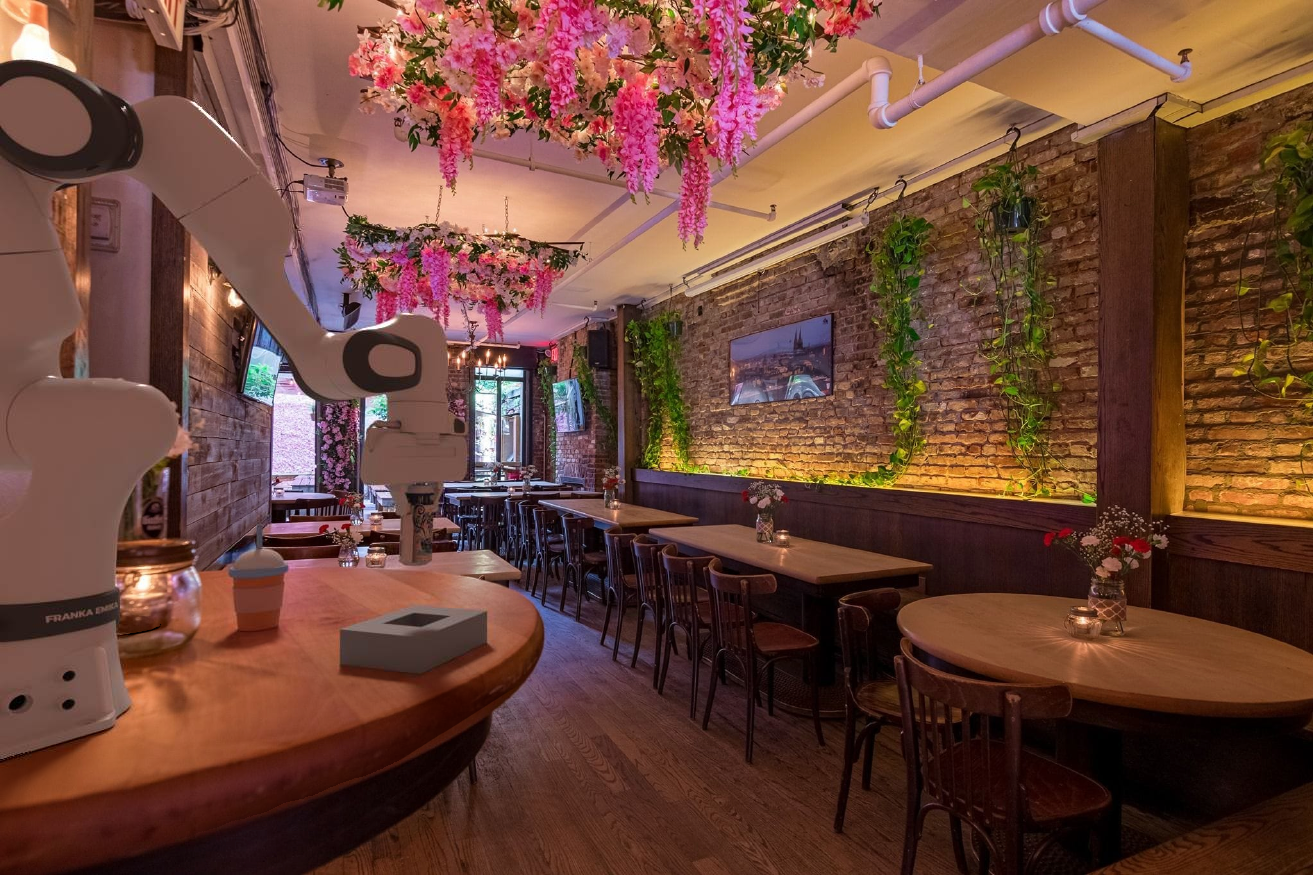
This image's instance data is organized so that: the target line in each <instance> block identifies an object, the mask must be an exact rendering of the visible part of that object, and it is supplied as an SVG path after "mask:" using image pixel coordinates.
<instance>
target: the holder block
mask: <svg viewBox="0 0 1313 875" xmlns="http://www.w3.org/2000/svg"><path fill="white" fill-rule="evenodd" d="M486 642H487V643H488V610H479V609H469V608H467V609H466V608H456V607H455V608H454V607H444V606H432V605H430V606H429V605H421V604H420V605H419V604H418V605H417V604H414V605H410V606H408V607H405V608H402V609H399V610H395V611H391V612H390V613H389V612H388V613H387V614H384V615H381V616H376V617H374V618H371V619H367V620H364V621H361V622H358V623H355V624H352V625H349V626H346V627H343V628H340V629H339V665H341V666H342V665H344V666H351V667H358V668H367V669H375V670H382V671H390V672H399V673H407V674H413V675H414V674H415V675H421V674H424V673H426V672H428V671H430V670H433V669H435V668H437V667H439V666H441V665H443V664H446V663H448V662H449V661H451V660H453V658H454V659H455V658H457V657H460V656H462V655H464V654H466V653H468V652H470V651H472V650H475V649H476V648H475V647H477V648H479V647H481V646H482V644H483V645H485V644H487V643H486ZM484 643H485V644H484ZM480 645H481V646H480ZM478 646H479V647H478ZM474 648H475V649H474ZM471 649H472V650H471Z"/></svg>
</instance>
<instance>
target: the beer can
mask: <svg viewBox="0 0 1313 875" xmlns="http://www.w3.org/2000/svg"><path fill="white" fill-rule="evenodd" d="M434 492H435V491H434V490H433V488H432V485H428V484H427V483H411V484H408V488H407V491H406V492H405V494H406V497H407V500H408V503H412V508H411V509H412V513H411V514H409V515H400V528H399V529H400V530H399V535H400V536H399V551H398V552H399V556H398V562H399V563H400V564H402V565H403V566H409V567H417V566H418V567H419V566H420V567H421V566H425V565H428V564H429V563H431V562H432V561H433V544H434V543H433V541H434V540H433V536H434V517H435V516H434V513H435V511H434Z"/></svg>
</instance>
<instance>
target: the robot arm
mask: <svg viewBox="0 0 1313 875" xmlns="http://www.w3.org/2000/svg"><path fill="white" fill-rule="evenodd" d="M111 174H119V175H122V176H123V175H124V176H127V177H130V178H132V179H134V180H136V181H138V182H140V183H141V184H142V185H144V186H145V187H146V188H147V189H148V190H149V191H151V192H152V193H153V194H154V195H155V196H156V197H157V198H158V200H159V201H161V202H162V204H163V205H164V206H165V207H166V208H167V210H168V211H170V212H171V213H172V215H173V216H174V217H175V219H176V220H177V219H178V221H179V223H180V224H181V225H182V226H183V227H184V228H185V230H187V231H188V233H189V234H190V235H191V236H192V237H193V238H194V239H195V240H196V241H197V242H198V244H199V245H200V247H202V248H203V250H204V251H205V252H206V253H207V255H209V257H210V258H211V259H212V260H213V262H214V263H215V265H216V266H217V267H218V269H219V270H220V272H221V274H222V275H223V277H224V278H225V280H226V281H227V283H228V285H230V287H231V288H232V289H233V291H234V292H235V294H236V295H237V296H238V298H239V299H240V301H241V302H242V303H243V305H244V306H246V308H247V309H248V310H249V312H250V313H251V315H252V316H254V318H255V319H256V321H257V322H258V324H259V325H260V326H261V327H262V328H263V329H264V331H265V332H266V333H267V334H268V336H269V337H270V338H271V339H272V341H274V343H275V345H277V347H278V348H279V350H280V352H281V353H282V355H283V356H284V358H285V359H286V362H287V364H288V367H289V370H290V373H291V375H292V377H293V380H294V382H295V383H296V385H297V387H298V388H299V389H300V391H302V392H303V394H305V395H306V396H307V397H309V398H310V399H311V400H313V401H316V402H319V403H322V404H327V405H328V404H329V405H334V404H339V403H343V402H346V401H351V400H357V399H358V400H359V399H365V398H370V397H371V398H372V397H378V396H383V395H385V396H386V420H383V419H375V420H374V421H373V423H371V424H370V425H369V426H368V428H366V431H365V439H364V442H363V446H362V452H361V453H362V454H361V458H360V459H361V460H360V469H359V470H360V471H359V473H360V475H359V476H360V479H361V481H362V483H363V485H364V486H373V487H374V486H388V487H389V494H390V496H391V499H392V500H393V503H394V504H395V510H394V511H395V512H394V513H395V515H396V516H401V515H409V514H411V513H412V509H411V508H412V503H408V500H407V497H406V494H405V492H406V491H407V488H408V484H428V485H432V488H433V490H434V491H435V492H434V512H438V511H439V500H440V498H441V496H442V494H443V491H444V487H445V486H444V484H445V482H455V481H457V482H458V481H463V480H464V479H465V477H466V475H467V472H468V443H467V440H466V438H465V437H464V436H466V435H467V434H468V431H469V426H468V423H467V421H465V420H463V419H462V418H460V417H459V416H457V415H456V414H454V413H453V412H452V411H450V410H449V399H448V395H447V392H446V391H447V390H446V387H447V386H446V385H447V381H448V379H449V351H448V350H449V349H448V344H447V337H446V334H445V333H446V332H445V330H444V328H443V326H442V325H441V324H440V323H439V322H438V321H437V320H435V319H433V318H432V317H428V316H427V315H422V314H415V313H411V312H410V313H409V312H402V313H401V312H400V313H397V314H395V315H393V317H391V318H390V319H387V320H386V321H384V322H381V323H378V324H376V325H372V326H368V327H367V326H366V327H364V328H358V329H357V328H356V329H354V330H350V331H345V332H342V333H336V334H335V333H333V332H330V331H328V330H326V329H325V328H323V327H322V326H321V325H320V324H319V323H318V321H317V319H316V318H315V317H314V316H313V314H311V312H310V310H309V309H308V308H307V307H306V306H307V305H305V304H304V302H303V301H302V300H301V298H300V297H299V296H298V294H297V293H296V292H295V290H294V289H293V287H292V286H291V284H290V283H289V281H288V279H287V275H286V273H285V261H286V256H287V253H288V251H289V248H290V247H291V244H292V239H293V233H294V224H293V223H294V222H293V217H292V214H291V213H290V210H289V209H288V207H287V205H286V203H285V202H284V200H283V197H281V195H280V193H279V192H278V191H277V189H276V188H275V186H274V185H273V184H272V182H271V181H270V180H269V179H268V178H267V176H266V175H265V174H264V173H263V171H261V169H260V167H258V165H257V164H256V163H255V162H254V160H253V159H252V158H251V157H250V156H249V155H248V154H247V152H246V151H245V150H244V149H243V148H242V147H241V145H240V144H238V142H237V141H236V140H235V139H234V138H233V137H232V136H231V135H230V134H229V133H228V131H226V130H225V129H224V128H223V127H222V126H221V125H220V124H219V123H218V122H217V121H216V120H215V119H214V118H213V117H211V115H209V114H208V113H207V112H206V111H205V110H204V109H203V108H202V107H200V106H199V105H198V104H197V103H195V102H193V101H192V100H190V99H187V98H185V97H182V96H177V95H157V96H152V97H148V98H145V99H143V100H141V101H140V102H139V101H138V102H137V103H134V104H131V103H130V102H129V101H128V100H127V99H125V98H123V97H122V96H120V95H118V94H116V93H114V92H112V91H110V90H108V89H106V88H104V87H102V86H100V85H98V84H97V83H94V82H93V81H90V80H89V79H87V78H85V77H83V76H81V75H80V74H78V73H75V72H74V71H71V70H69V69H68V68H64V67H63V66H60V65H57V64H54V63H50V62H46V61H41V60H37V59H36V60H35V59H14V60H13V59H11V60H6V61H3V62H0V474H31V476H30V480H29V483H28V487H27V489H26V491H25V494H24V495H23V497H22V499H21V500H20V502H19V504H18V505H17V506H16V507H15V509H14V510H12V511H11V512H10V513H8V514H6V515H4V516H3V517H1V518H0V759H3V760H5V759H4V758H7V757H9V756H13V757H15V756H14V755H15V754H20V753H23V754H26V753H25V752H27V753H30V752H33V751H36V750H40V749H43V748H47V747H50V746H52V745H56V744H60V743H64V742H68V741H69V740H70V741H71V740H73V739H76V738H80V737H84V736H88V735H91V734H93V733H97V732H100V731H103V730H107V729H110V728H111V727H113V726H114V725H115V724H116V721H117V717H119V716H120V715H121V714H122V713H123V712H126V711H127V709H129V707H130V706H131V704H132V700H131V697H130V694H129V692H128V689H127V686H126V683H125V679H124V675H123V670H122V666H121V661H120V654H119V647H118V646H119V644H118V636H117V633H116V631H117V630H118V626H119V621H120V598H121V593H120V592H121V589H120V588H119V587H117V585H116V579H117V578H116V572H117V553H118V540H119V539H118V538H119V527H120V524H121V520H122V516H123V513H124V510H125V508H126V506H127V503H128V500H129V498H130V496H131V495H132V492H133V491H134V489H135V487H136V486H137V485H138V483H139V482H140V480H141V479H142V478H143V476H144V475H145V474H146V473H147V472H148V471H150V469H152V468H153V467H154V466H155V465H157V464H158V463H159V462H161V461H162V460H163V459H165V458H166V457H167V456H168V455H169V453H170V452H171V450H172V449H173V447H174V445H175V443H176V441H177V437H178V432H179V420H178V415H177V413H176V412H177V411H176V409H175V407H174V405H173V403H172V402H171V401H170V399H169V398H168V397H167V396H166V395H165V394H164V392H162V390H160V389H157V388H156V387H155V386H151V385H148V384H143V383H138V382H134V381H128V380H123V379H118V378H117V379H116V378H113V377H79V378H77V377H74V378H73V377H72V378H71V377H70V378H69V377H67V378H64V377H63V376H62V373H61V368H60V351H61V347H62V344H63V342H64V340H66V339H67V338H69V337H71V335H74V333H75V332H76V331H78V329H79V328H80V326H81V324H82V321H83V317H84V316H83V314H84V313H83V308H82V305H81V303H80V299H79V296H78V293H77V291H76V290H77V289H76V287H75V284H74V281H73V278H72V275H71V272H70V268H69V265H68V262H67V259H66V256H65V252H64V250H63V249H62V248H63V246H62V244H61V241H60V238H59V235H58V233H57V229H56V226H55V222H54V219H53V212H52V205H51V202H52V197H53V194H54V193H55V192H58V191H62V190H65V189H68V188H72V187H75V186H79V185H83V184H88V183H92V182H94V181H98V180H99V179H102V178H104V177H105V176H108V175H111ZM29 751H30V752H29ZM20 755H21V754H20ZM7 759H8V758H7Z"/></svg>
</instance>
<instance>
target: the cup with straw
mask: <svg viewBox="0 0 1313 875" xmlns="http://www.w3.org/2000/svg"><path fill="white" fill-rule="evenodd" d="M263 528H264V527H263V524H261V523H258V524H256V545H255V546H256V548H254V549H250V550H247V551H246V552H243V553H242V554H241V555H239V556H238V557H237V558H236V560H235V562H234V563H233V566H232V567H230V568H229V570H228V573H227V574H228V576H229V577H231V578H232V581H233V586H231V587H232V596H233V607H234V612H235V614H236V624H237V630H238V631H240V632H258V631H259V632H260V631H266V630H270V629H273V628H276V627H278V626H279V624H280V615H281V610H282V609H281V608H282V607H283V602H284V600H283V598H284V591H285V584H286V583H285V574H286V573H287V572H289V564H288V563H287V562H285V560H284V558H283V557H282V555H281V554H279V552H277V551H275V550H273V549H271V548H263Z"/></svg>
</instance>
